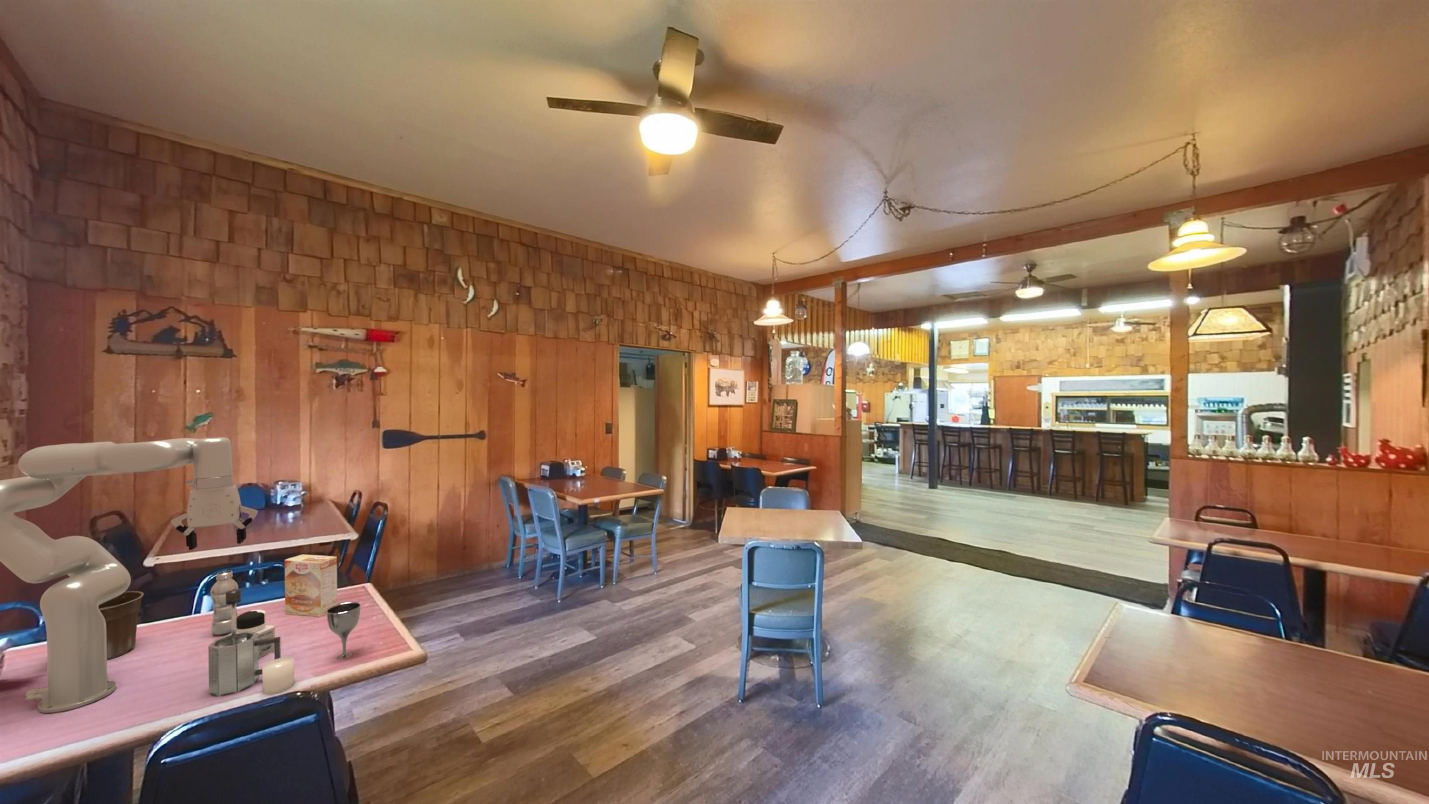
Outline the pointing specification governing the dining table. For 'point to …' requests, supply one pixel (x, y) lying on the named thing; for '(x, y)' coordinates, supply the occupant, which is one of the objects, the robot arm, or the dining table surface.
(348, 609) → the wine glass
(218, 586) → the plastic bottle
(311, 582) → the coffeecake box
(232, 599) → the plunger
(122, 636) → the plant pot
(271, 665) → the pillar candle
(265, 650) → the container
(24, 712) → the dining table surface
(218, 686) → the press carafe
